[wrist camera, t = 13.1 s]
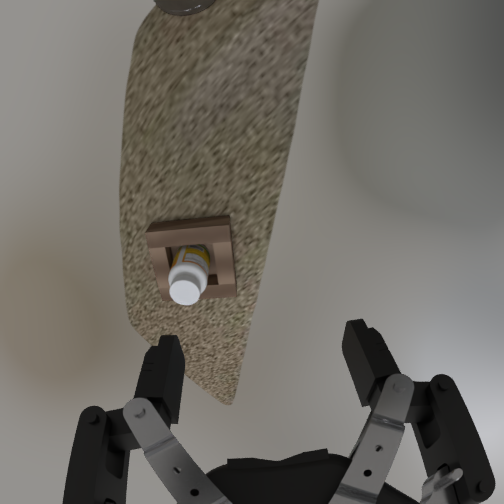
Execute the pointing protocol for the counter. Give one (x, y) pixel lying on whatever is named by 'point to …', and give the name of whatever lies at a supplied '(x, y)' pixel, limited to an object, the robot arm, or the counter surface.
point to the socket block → (191, 233)
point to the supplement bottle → (189, 273)
